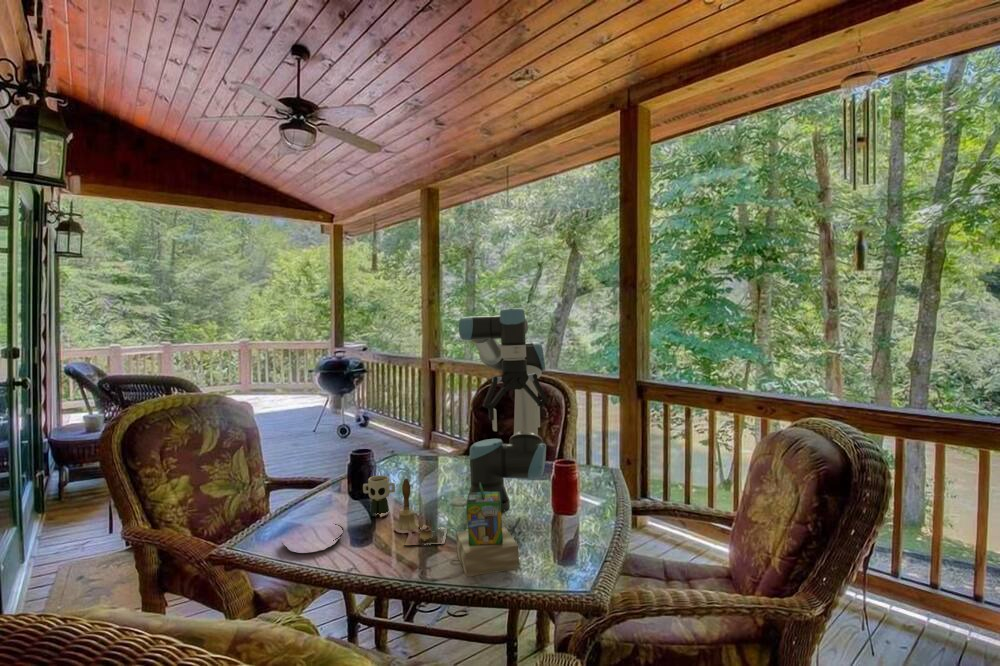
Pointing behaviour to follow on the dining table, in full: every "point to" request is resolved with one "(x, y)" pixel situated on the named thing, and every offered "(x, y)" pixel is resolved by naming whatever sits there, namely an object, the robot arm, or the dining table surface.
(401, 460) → the dining table surface
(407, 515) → the hand bell
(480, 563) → the birch block
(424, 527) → the dessert
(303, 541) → the dining table surface
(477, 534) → the chalk box
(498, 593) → the dining table surface
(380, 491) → the character mug
